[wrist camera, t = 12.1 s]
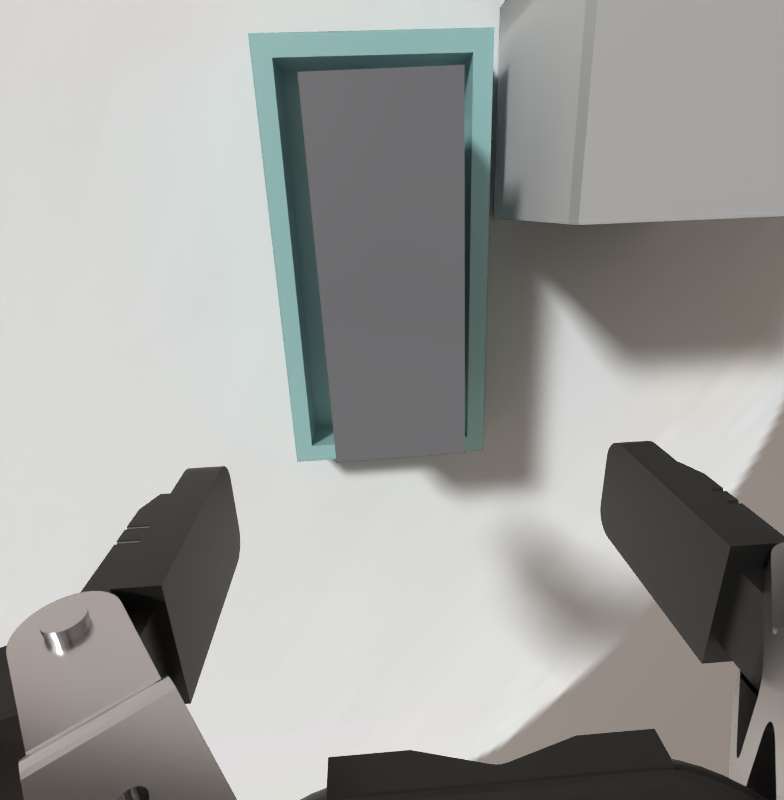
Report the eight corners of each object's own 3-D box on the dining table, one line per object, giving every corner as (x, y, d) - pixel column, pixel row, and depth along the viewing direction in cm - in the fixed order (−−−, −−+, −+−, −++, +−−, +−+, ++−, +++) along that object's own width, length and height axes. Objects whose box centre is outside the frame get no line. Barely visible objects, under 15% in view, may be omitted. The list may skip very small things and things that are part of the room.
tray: (262, 55, 22) (248, 33, 19) (476, 50, 23) (494, 27, 20) (303, 435, 29) (297, 461, 26) (470, 425, 29) (482, 449, 26)
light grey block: (500, 7, 22) (609, -145, 13) (706, 3, 23) (963, -148, 13) (493, 218, 25) (578, 225, 16) (675, 210, 26) (866, 212, 16)
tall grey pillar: (316, 116, 23) (297, 71, 15) (429, 111, 23) (464, 64, 15) (342, 398, 27) (337, 469, 20) (435, 391, 28) (464, 459, 20)
